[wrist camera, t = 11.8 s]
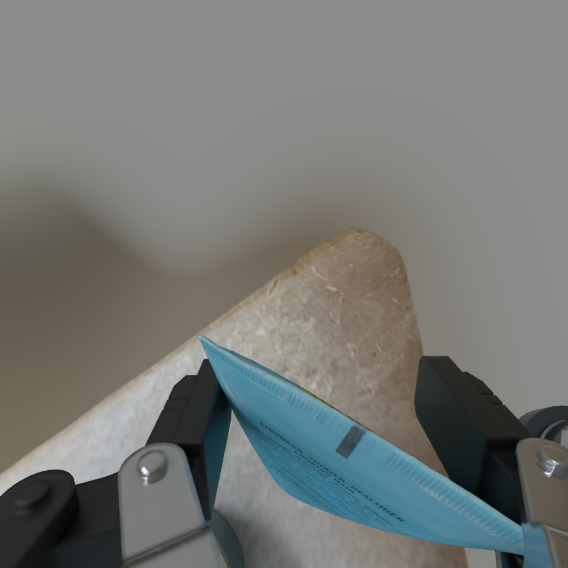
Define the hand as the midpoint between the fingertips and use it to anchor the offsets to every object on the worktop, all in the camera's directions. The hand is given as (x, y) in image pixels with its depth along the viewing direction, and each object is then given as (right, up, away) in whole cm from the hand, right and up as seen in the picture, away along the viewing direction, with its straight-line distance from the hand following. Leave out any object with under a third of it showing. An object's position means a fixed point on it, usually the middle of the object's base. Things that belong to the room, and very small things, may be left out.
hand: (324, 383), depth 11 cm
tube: (0, -8, +13) cm, 16 cm away
